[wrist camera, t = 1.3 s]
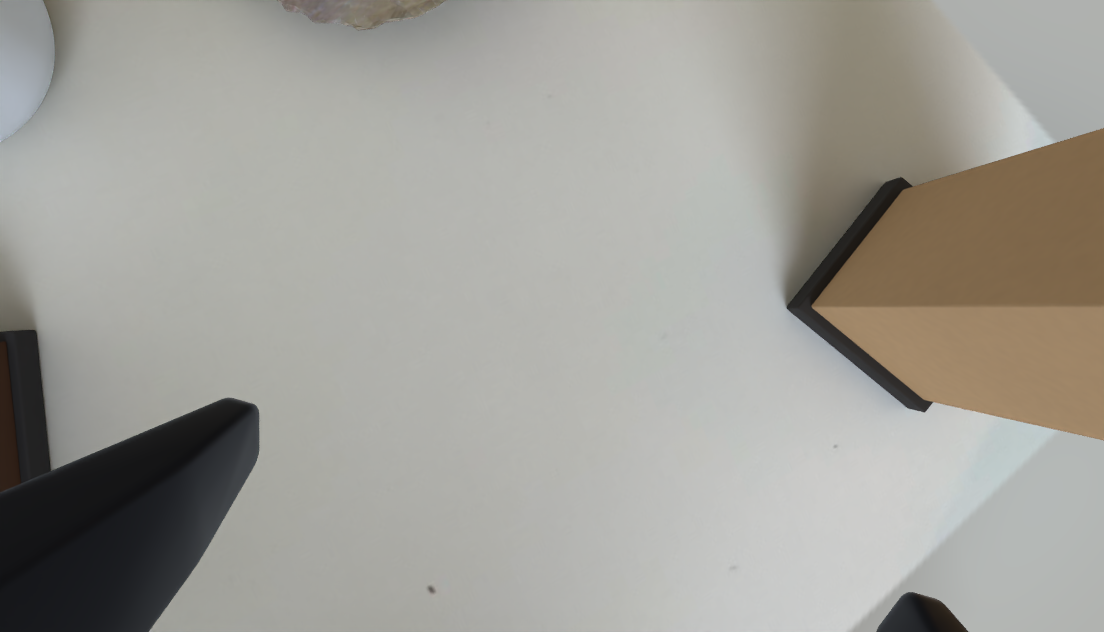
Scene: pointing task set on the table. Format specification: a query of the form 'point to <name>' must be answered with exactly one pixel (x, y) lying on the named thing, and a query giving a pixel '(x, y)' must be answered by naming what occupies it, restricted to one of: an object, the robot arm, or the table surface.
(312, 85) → the table surface
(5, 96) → the teacup
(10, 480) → the brown slab
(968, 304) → the tan block on base
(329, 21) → the seashell
